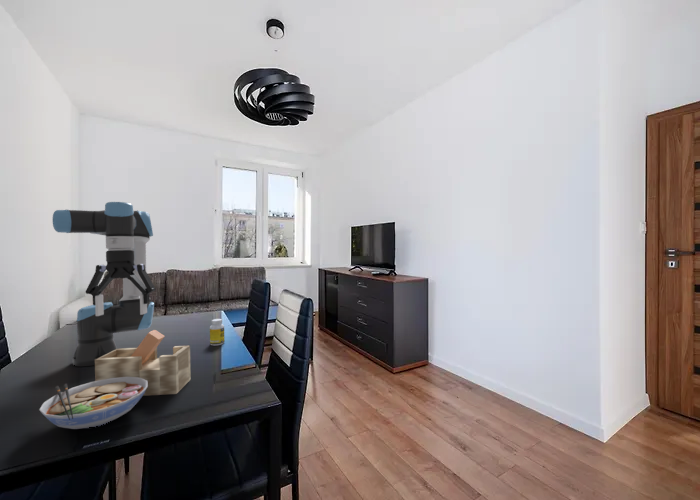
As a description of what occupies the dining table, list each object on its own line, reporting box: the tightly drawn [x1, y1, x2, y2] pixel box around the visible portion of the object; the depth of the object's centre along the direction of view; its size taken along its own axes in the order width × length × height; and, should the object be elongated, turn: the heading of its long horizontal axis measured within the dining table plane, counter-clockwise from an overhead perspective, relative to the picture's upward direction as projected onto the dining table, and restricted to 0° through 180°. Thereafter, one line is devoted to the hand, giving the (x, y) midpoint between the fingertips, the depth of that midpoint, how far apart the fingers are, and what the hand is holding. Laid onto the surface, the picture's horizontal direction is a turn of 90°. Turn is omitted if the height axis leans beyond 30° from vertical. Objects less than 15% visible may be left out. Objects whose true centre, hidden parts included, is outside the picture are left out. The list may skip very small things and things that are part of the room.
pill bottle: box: [209, 318, 226, 346], centre depth 154 cm, size 6×6×12 cm
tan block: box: [131, 329, 165, 364], centre depth 105 cm, size 20×4×4 cm
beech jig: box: [94, 345, 192, 397], centre depth 105 cm, size 24×11×12 cm, turn 95°
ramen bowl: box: [38, 377, 148, 430], centre depth 86 cm, size 25×23×8 cm
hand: (121, 314), depth 105 cm, fingers open, 13 cm apart
